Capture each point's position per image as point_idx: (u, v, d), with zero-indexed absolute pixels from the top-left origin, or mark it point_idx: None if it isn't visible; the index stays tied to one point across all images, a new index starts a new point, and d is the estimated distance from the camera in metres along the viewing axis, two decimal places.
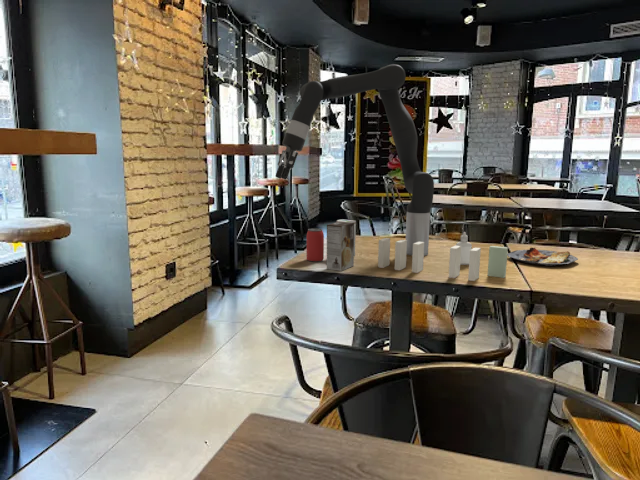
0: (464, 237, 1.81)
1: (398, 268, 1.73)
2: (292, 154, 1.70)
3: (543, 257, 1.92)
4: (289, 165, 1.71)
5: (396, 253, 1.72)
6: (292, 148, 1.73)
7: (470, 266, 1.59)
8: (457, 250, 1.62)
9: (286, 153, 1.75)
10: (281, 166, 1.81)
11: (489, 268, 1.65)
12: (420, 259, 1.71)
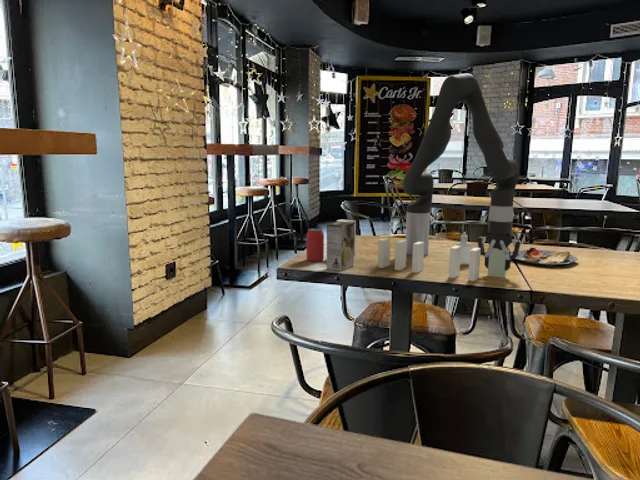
0: (464, 237, 1.81)
1: (398, 268, 1.73)
2: (519, 246, 1.60)
3: (543, 257, 1.92)
4: (516, 256, 1.61)
5: (396, 253, 1.72)
6: (510, 235, 1.61)
7: (470, 266, 1.59)
8: (457, 250, 1.62)
9: (504, 243, 1.61)
10: None
11: (489, 268, 1.65)
12: (420, 259, 1.71)
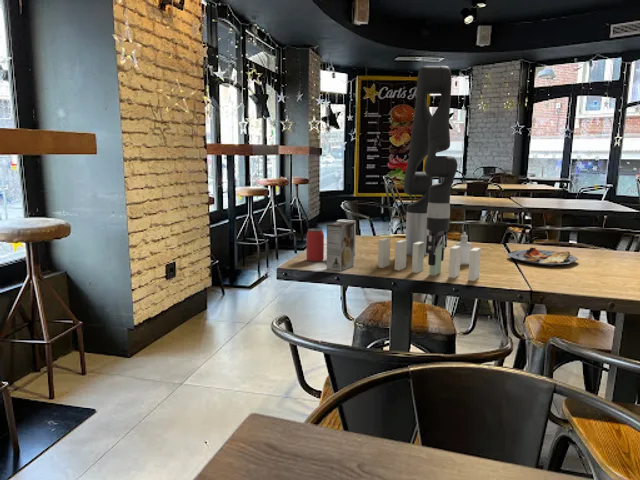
0: (464, 237, 1.81)
1: (398, 268, 1.73)
2: (428, 240, 1.61)
3: (543, 257, 1.92)
4: (428, 252, 1.61)
5: (396, 253, 1.72)
6: (432, 232, 1.63)
7: (470, 266, 1.59)
8: (457, 250, 1.62)
9: None
10: None
11: None
12: (420, 259, 1.71)
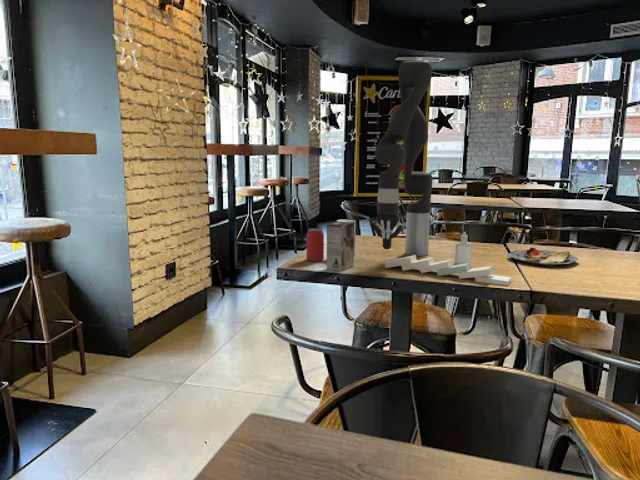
0: (464, 237, 1.81)
1: (403, 269, 1.72)
2: (401, 229, 1.73)
3: (543, 257, 1.92)
4: (395, 236, 1.75)
5: (417, 263, 1.69)
6: (396, 216, 1.73)
7: (490, 280, 1.56)
8: (487, 274, 1.57)
9: (390, 223, 1.73)
10: (386, 236, 1.76)
11: None
12: None
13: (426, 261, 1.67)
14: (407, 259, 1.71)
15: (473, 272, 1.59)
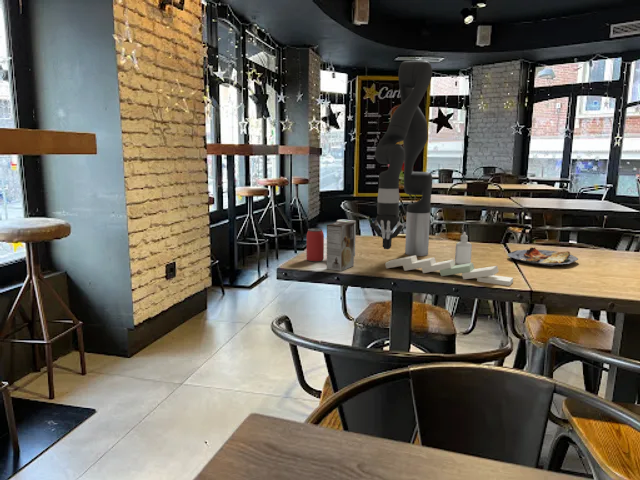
0: (464, 237, 1.81)
1: (405, 269, 1.72)
2: (401, 229, 1.73)
3: (543, 257, 1.92)
4: (395, 236, 1.75)
5: (419, 263, 1.69)
6: (396, 216, 1.73)
7: (492, 280, 1.56)
8: None
9: (390, 223, 1.73)
10: (386, 236, 1.76)
11: None
12: None
13: (428, 261, 1.67)
14: (408, 259, 1.71)
15: (477, 272, 1.58)
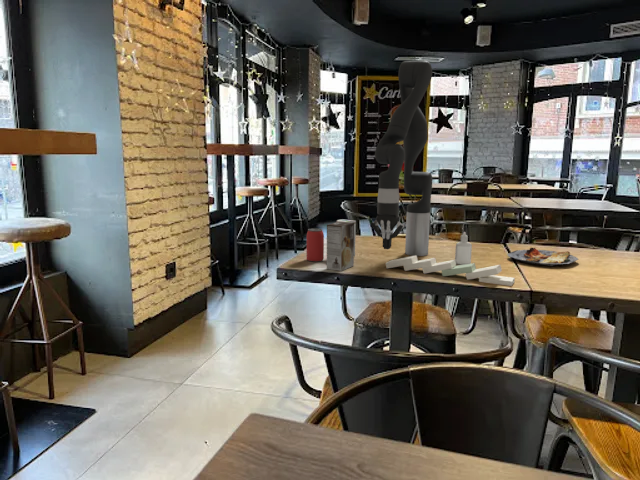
0: (464, 237, 1.81)
1: (405, 269, 1.72)
2: (401, 229, 1.73)
3: (543, 257, 1.92)
4: (395, 236, 1.75)
5: (419, 264, 1.69)
6: (396, 216, 1.73)
7: (494, 280, 1.56)
8: (495, 273, 1.56)
9: (390, 223, 1.73)
10: (386, 236, 1.76)
11: None
12: None
13: (428, 262, 1.67)
14: (408, 259, 1.71)
15: (480, 272, 1.57)
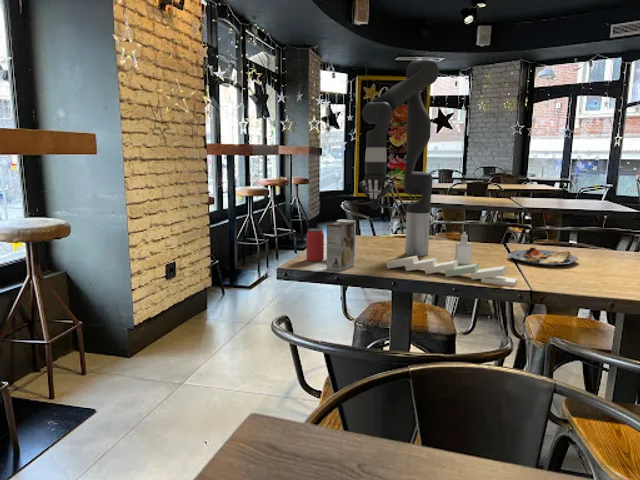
0: (464, 237, 1.81)
1: (407, 269, 1.71)
2: (388, 188, 1.73)
3: (543, 257, 1.92)
4: (382, 195, 1.75)
5: (421, 264, 1.69)
6: (384, 175, 1.73)
7: (496, 281, 1.56)
8: None
9: (378, 183, 1.73)
10: None
11: None
12: None
13: (431, 262, 1.67)
14: (409, 260, 1.71)
15: (486, 272, 1.57)
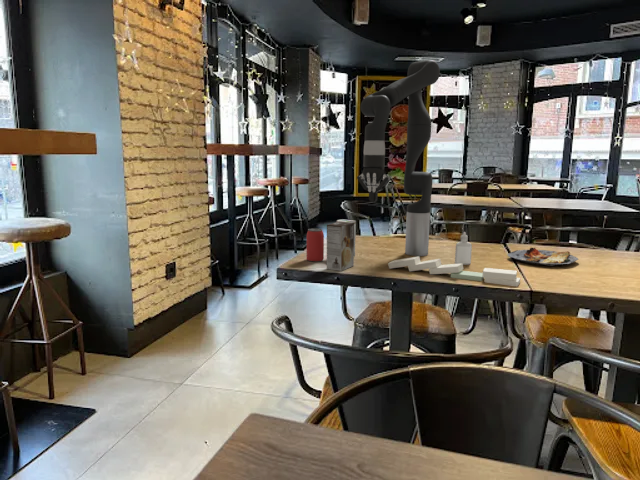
0: (464, 237, 1.81)
1: (410, 269, 1.71)
2: (386, 181, 1.73)
3: (543, 257, 1.92)
4: (381, 189, 1.75)
5: (424, 264, 1.68)
6: (382, 168, 1.73)
7: (499, 281, 1.55)
8: None
9: (376, 176, 1.74)
10: (372, 189, 1.77)
11: None
12: None
13: (434, 263, 1.66)
14: (411, 260, 1.70)
15: (499, 274, 1.56)
